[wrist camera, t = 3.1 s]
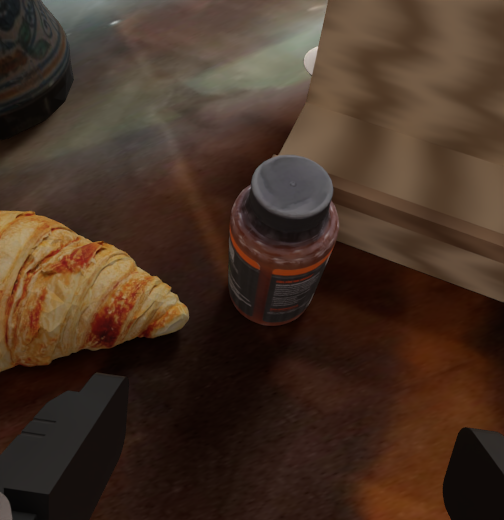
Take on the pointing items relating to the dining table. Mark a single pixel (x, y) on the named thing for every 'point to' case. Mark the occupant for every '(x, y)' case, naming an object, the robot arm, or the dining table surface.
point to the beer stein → (31, 65)
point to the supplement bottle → (281, 239)
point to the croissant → (73, 294)
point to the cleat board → (413, 133)
